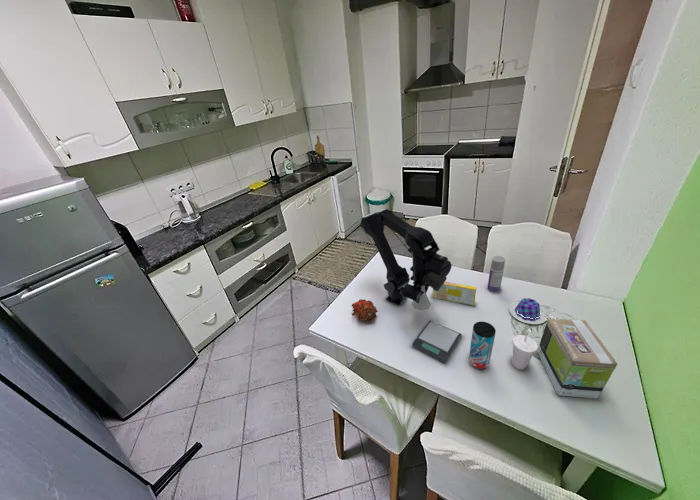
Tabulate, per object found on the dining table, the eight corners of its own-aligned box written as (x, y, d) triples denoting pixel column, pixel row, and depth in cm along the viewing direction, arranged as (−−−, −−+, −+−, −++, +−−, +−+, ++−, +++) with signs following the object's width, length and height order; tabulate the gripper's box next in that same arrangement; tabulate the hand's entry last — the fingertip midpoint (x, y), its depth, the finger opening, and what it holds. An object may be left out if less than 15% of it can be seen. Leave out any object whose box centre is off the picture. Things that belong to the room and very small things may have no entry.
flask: (431, 311, 102) (431, 290, 97) (411, 310, 104) (410, 290, 98) (430, 298, 108) (430, 278, 103) (411, 298, 110) (410, 277, 104)
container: (488, 284, 118) (493, 254, 110) (501, 287, 115) (506, 257, 108) (486, 290, 115) (490, 260, 107) (498, 293, 112) (504, 263, 105)
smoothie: (529, 357, 87) (538, 326, 80) (533, 375, 82) (544, 343, 75) (506, 353, 89) (513, 322, 82) (508, 370, 84) (517, 339, 77)
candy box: (474, 303, 110) (476, 286, 106) (474, 306, 108) (476, 290, 104) (433, 294, 117) (433, 278, 113) (432, 297, 116) (432, 282, 111)
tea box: (599, 399, 74) (620, 364, 66) (557, 396, 76) (572, 361, 68) (571, 352, 86) (586, 318, 79) (535, 350, 89) (546, 317, 81)
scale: (412, 347, 96) (412, 342, 95) (429, 323, 104) (429, 318, 103) (445, 364, 89) (446, 359, 87) (461, 337, 97) (462, 332, 95)
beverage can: (466, 354, 91) (470, 322, 83) (484, 353, 90) (490, 320, 82) (472, 370, 86) (477, 337, 78) (492, 369, 85) (499, 336, 77)
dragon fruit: (377, 327, 107) (355, 318, 116) (385, 307, 109) (363, 299, 118) (365, 322, 102) (343, 312, 110) (374, 300, 104) (351, 292, 112)
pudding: (526, 298, 108) (529, 288, 105) (555, 319, 98) (558, 308, 95) (501, 308, 106) (503, 297, 103) (527, 330, 96) (530, 319, 93)
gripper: (430, 286, 86) (429, 322, 94) (454, 257, 97) (452, 292, 105) (399, 275, 92) (400, 310, 100) (425, 250, 104) (425, 282, 112)
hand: (420, 298), depth 104 cm, fingers closed on flask, 5 cm apart
